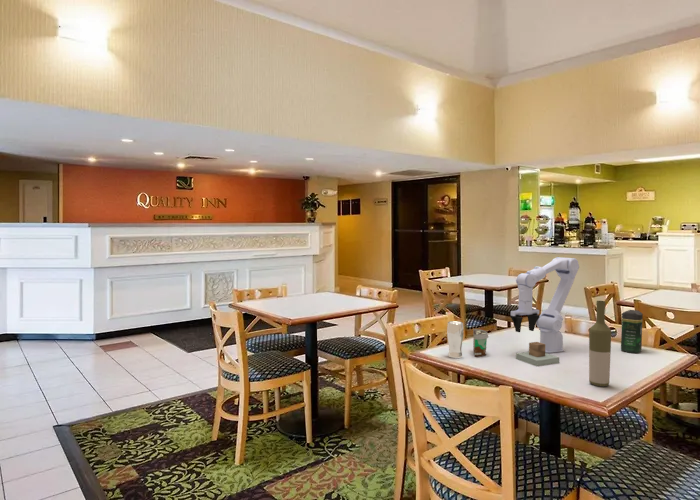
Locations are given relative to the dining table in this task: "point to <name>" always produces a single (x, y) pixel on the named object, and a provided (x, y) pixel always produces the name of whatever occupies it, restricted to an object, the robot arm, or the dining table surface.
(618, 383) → the dining table surface
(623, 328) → the coffee jar
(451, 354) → the beer glass
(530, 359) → the grey platform
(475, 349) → the food container
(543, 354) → the walnut block
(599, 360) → the bottle
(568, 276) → the robot arm
